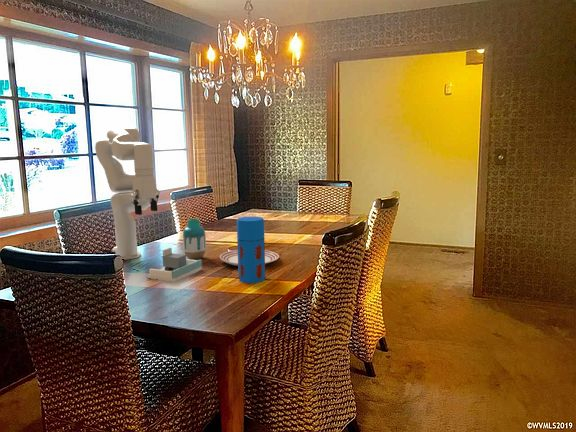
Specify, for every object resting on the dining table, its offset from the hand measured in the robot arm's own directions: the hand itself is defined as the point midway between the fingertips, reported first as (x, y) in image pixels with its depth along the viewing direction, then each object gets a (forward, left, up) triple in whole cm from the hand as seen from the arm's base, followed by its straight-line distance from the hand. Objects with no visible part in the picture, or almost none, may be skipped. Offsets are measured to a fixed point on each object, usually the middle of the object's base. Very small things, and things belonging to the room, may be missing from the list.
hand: (146, 212), depth 197 cm
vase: (+7, +24, -26) cm, 36 cm away
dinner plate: (+34, +29, -26) cm, 51 cm away
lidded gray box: (+14, 0, -24) cm, 28 cm away
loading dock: (+14, 0, -26) cm, 29 cm away
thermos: (+48, +6, -26) cm, 55 cm away
